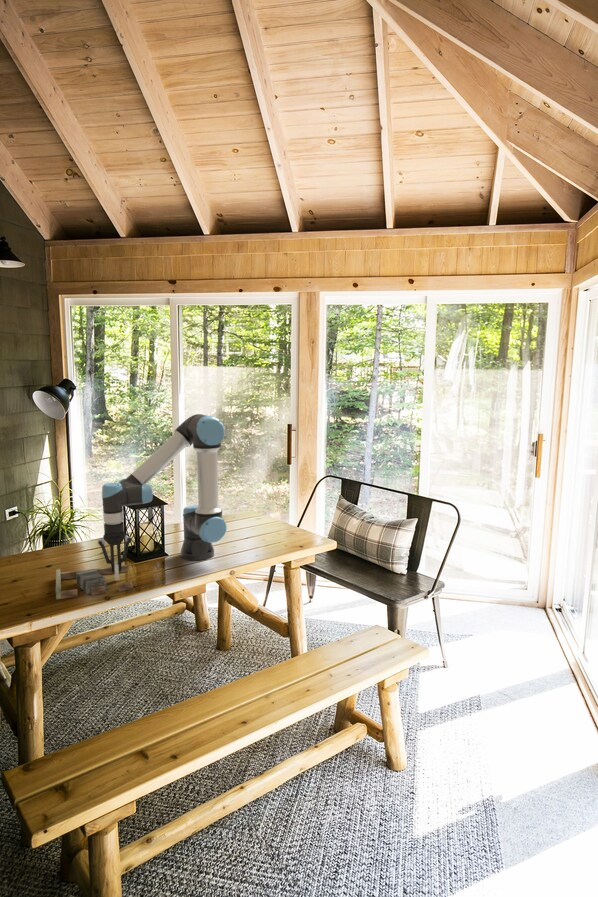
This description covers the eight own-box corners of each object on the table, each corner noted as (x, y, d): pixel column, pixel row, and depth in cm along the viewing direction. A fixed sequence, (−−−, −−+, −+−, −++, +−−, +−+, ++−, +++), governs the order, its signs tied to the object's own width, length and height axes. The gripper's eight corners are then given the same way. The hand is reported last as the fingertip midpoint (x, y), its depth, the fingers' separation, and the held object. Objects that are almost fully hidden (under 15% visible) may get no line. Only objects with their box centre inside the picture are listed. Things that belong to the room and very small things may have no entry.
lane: (126, 570, 259) (126, 561, 258) (132, 589, 238) (132, 579, 237) (56, 579, 249) (56, 569, 249) (56, 599, 228) (55, 589, 227)
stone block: (99, 579, 249) (98, 567, 249) (109, 590, 238) (109, 577, 237) (76, 584, 244) (75, 571, 244) (86, 595, 233) (85, 582, 232)
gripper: (129, 518, 249) (132, 573, 252) (96, 521, 244) (99, 578, 248) (131, 522, 242) (134, 579, 245) (96, 526, 237) (100, 584, 241)
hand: (117, 578), depth 246 cm, fingers closed
